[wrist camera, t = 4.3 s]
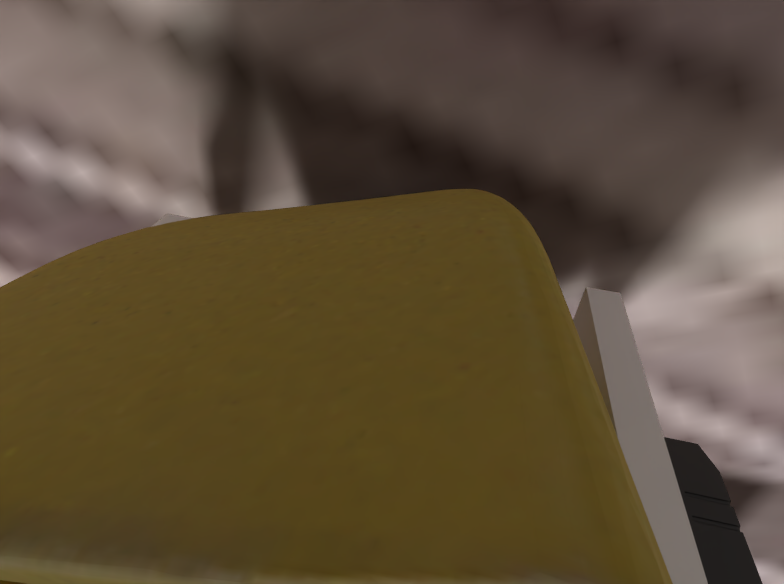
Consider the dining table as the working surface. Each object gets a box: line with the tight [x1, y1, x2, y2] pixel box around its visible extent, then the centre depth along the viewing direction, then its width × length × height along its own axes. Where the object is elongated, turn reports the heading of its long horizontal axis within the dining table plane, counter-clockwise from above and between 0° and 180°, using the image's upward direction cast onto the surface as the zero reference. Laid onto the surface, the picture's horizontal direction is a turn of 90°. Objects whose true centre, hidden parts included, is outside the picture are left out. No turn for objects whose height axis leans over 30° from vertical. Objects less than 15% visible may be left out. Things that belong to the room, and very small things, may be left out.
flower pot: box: [0, 189, 673, 584], centre depth 9 cm, size 9×9×9 cm
